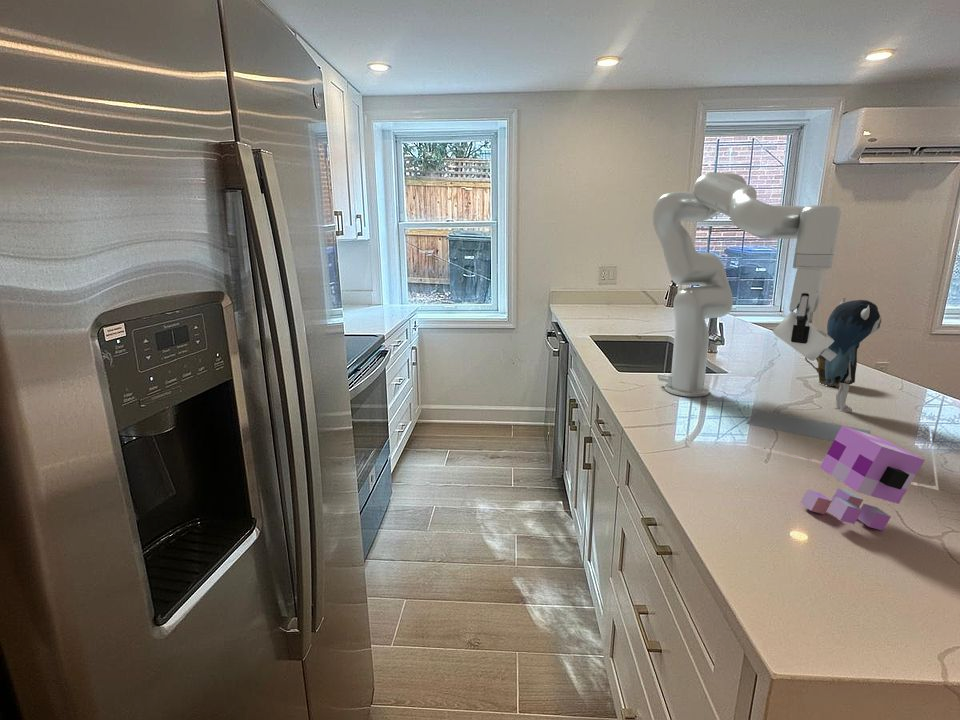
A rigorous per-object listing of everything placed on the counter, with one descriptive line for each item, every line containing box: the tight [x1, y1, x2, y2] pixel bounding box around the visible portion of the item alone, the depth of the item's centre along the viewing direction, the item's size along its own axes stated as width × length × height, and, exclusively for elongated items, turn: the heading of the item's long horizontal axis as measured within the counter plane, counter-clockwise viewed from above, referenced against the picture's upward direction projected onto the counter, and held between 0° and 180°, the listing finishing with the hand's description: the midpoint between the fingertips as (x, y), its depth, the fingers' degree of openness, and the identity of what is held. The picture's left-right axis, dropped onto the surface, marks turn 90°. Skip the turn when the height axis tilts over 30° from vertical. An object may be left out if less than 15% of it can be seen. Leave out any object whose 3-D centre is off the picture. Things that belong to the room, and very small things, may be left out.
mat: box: [746, 409, 870, 442], centre depth 123 cm, size 24×13×1 cm, turn 50°
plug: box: [772, 311, 837, 362], centre depth 118 cm, size 13×4×6 cm
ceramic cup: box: [804, 354, 840, 388], centre depth 159 cm, size 13×10×10 cm
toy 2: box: [800, 425, 925, 531], centre depth 82 cm, size 11×8×15 cm
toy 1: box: [824, 297, 882, 413], centre depth 131 cm, size 14×11×30 cm
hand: (800, 340), depth 119 cm, fingers closed on plug, 4 cm apart
